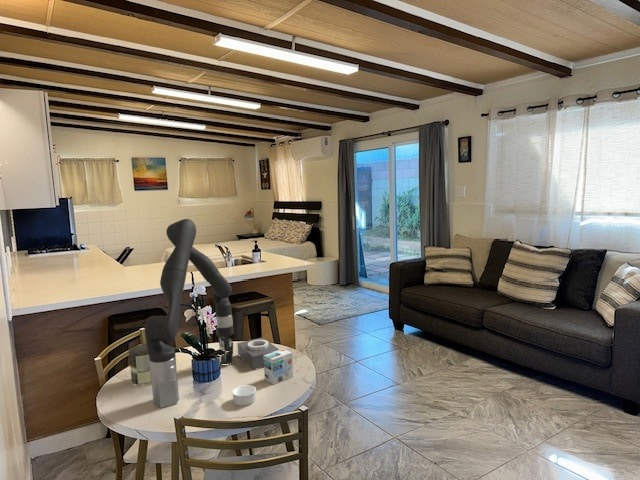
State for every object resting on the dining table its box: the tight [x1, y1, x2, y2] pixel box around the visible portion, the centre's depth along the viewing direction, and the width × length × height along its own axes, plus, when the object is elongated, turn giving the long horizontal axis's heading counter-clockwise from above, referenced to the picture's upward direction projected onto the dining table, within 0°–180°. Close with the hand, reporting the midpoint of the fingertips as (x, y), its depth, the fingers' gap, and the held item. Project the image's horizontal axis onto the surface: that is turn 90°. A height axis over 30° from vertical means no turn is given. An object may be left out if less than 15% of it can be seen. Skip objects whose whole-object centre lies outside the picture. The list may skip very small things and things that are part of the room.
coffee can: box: [128, 344, 152, 387], centre depth 182 cm, size 10×10×14 cm
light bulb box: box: [263, 348, 294, 385], centre depth 180 cm, size 11×7×11 cm, turn 131°
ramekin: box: [231, 384, 257, 407], centre depth 163 cm, size 9×9×4 cm
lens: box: [219, 346, 234, 365], centre depth 198 cm, size 6×6×8 cm
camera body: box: [236, 337, 280, 370], centre depth 202 cm, size 20×13×8 cm, turn 31°
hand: (226, 360), depth 198 cm, fingers closed on lens, 5 cm apart
